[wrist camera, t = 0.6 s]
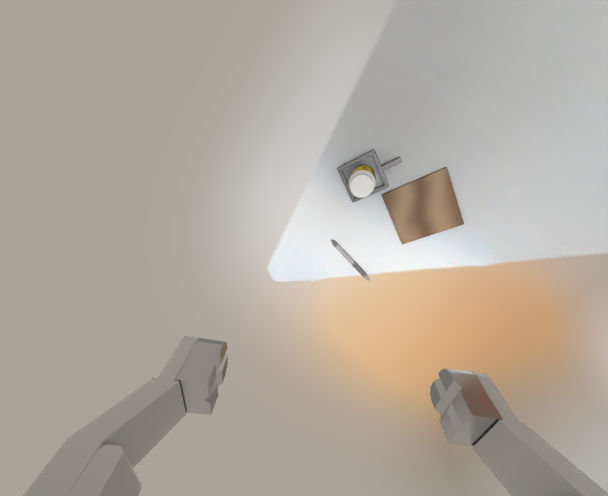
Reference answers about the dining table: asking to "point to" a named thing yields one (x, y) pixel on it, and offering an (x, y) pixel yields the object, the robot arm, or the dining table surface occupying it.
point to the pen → (350, 260)
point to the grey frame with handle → (378, 169)
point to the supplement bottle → (362, 181)
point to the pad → (424, 206)
